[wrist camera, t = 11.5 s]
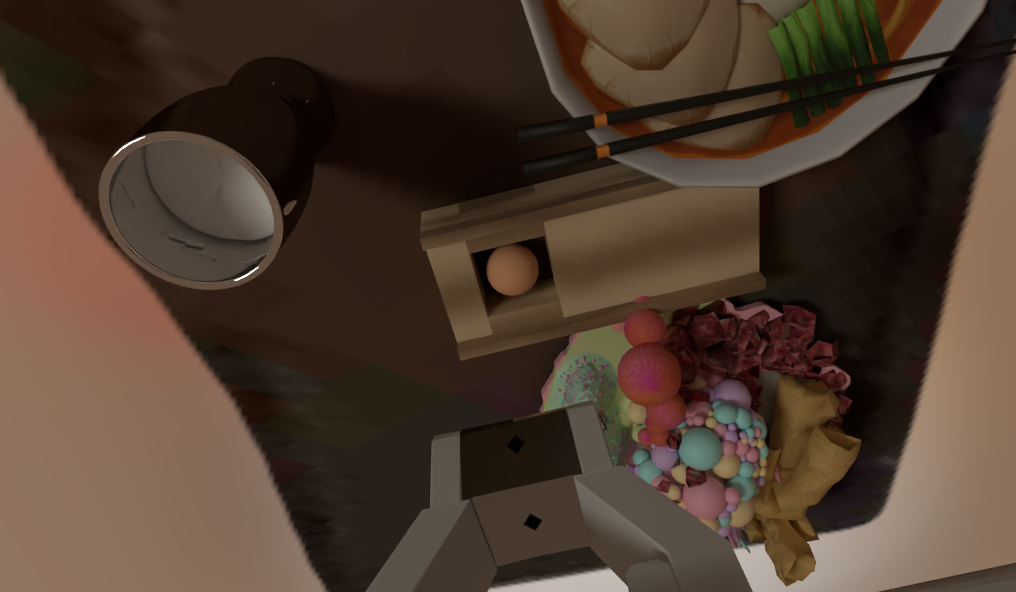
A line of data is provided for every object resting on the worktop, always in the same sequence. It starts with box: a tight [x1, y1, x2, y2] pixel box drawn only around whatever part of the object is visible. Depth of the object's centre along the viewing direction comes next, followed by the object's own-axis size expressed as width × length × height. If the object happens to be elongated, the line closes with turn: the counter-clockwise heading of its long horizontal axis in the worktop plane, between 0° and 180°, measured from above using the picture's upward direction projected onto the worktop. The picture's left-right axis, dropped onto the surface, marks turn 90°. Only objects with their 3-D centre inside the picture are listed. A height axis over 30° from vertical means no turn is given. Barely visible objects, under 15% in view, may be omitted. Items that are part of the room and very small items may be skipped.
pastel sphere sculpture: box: [540, 296, 862, 586], centre depth 45 cm, size 25×24×9 cm
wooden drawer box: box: [420, 163, 766, 360], centre depth 40 cm, size 10×21×4 cm, turn 103°
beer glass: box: [99, 57, 334, 290], centre depth 29 cm, size 7×7×15 cm
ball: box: [486, 243, 539, 296], centre depth 41 cm, size 4×4×4 cm
